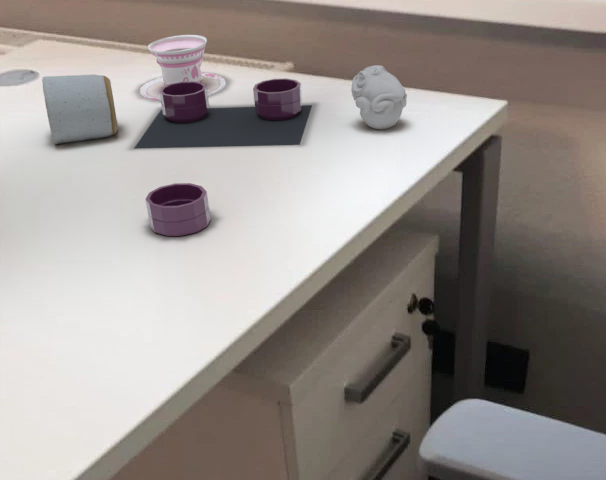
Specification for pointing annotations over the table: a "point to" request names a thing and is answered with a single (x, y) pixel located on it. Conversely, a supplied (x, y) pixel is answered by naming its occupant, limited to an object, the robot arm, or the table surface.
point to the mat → (225, 130)
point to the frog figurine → (378, 97)
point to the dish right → (278, 99)
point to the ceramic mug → (79, 107)
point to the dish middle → (178, 209)
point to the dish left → (184, 101)
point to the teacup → (180, 61)
